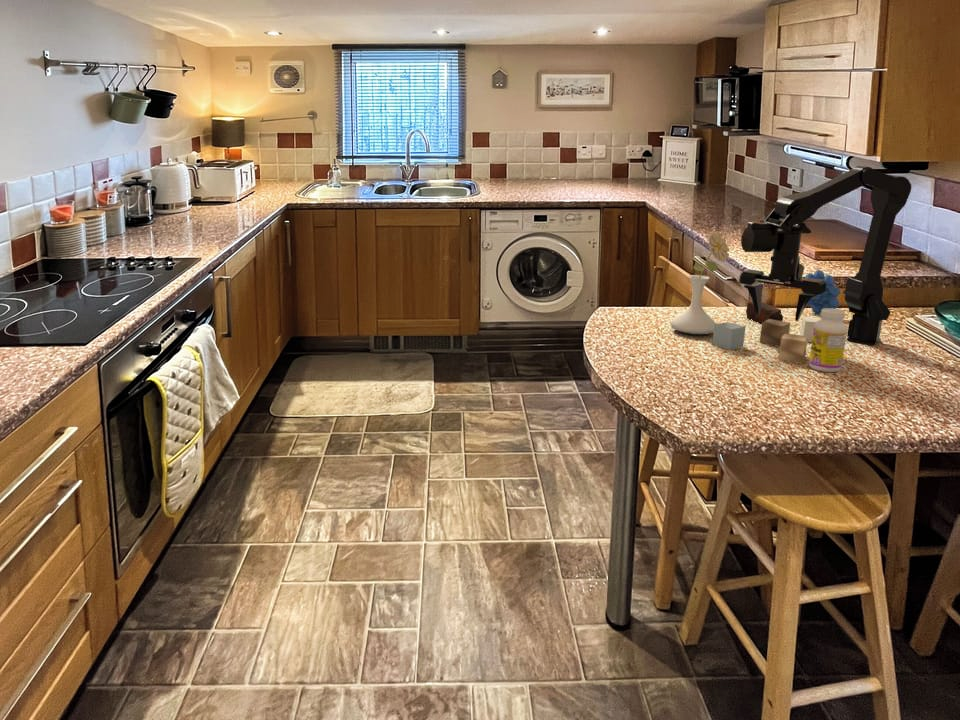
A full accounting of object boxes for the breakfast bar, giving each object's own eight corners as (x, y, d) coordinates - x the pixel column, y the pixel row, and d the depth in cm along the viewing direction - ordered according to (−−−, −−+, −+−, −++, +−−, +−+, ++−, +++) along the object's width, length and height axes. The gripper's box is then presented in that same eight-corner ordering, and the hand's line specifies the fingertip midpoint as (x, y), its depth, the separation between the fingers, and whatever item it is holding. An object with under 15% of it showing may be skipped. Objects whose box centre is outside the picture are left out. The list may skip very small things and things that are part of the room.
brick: (744, 318, 234) (746, 301, 233) (757, 317, 235) (759, 300, 234) (769, 328, 224) (771, 310, 223) (782, 327, 225) (784, 309, 224)
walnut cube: (787, 342, 210) (790, 322, 209) (780, 346, 206) (783, 326, 205) (766, 339, 213) (769, 319, 212) (759, 343, 209) (762, 322, 208)
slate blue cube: (743, 347, 205) (745, 326, 204) (729, 350, 202) (732, 329, 201) (725, 342, 209) (727, 321, 207) (712, 345, 206) (714, 324, 204)
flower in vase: (688, 339, 209) (699, 234, 202) (660, 328, 219) (670, 227, 212) (732, 335, 215) (744, 233, 208) (702, 324, 225) (713, 226, 217)
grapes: (789, 311, 243) (795, 268, 240) (803, 308, 247) (809, 266, 244) (827, 320, 235) (834, 276, 231) (841, 317, 239) (848, 273, 235)
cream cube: (821, 338, 216) (824, 318, 215) (824, 343, 211) (827, 323, 210) (799, 336, 217) (802, 316, 216) (802, 341, 212) (805, 321, 211)
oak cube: (805, 358, 198) (808, 336, 196) (801, 363, 194) (805, 341, 192) (782, 354, 200) (784, 333, 199) (778, 359, 196) (781, 337, 194)
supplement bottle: (803, 363, 193) (812, 306, 190) (834, 364, 193) (843, 307, 189) (814, 372, 187) (822, 313, 183) (845, 373, 187) (855, 314, 183)
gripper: (837, 253, 205) (827, 318, 209) (759, 243, 215) (751, 306, 220) (823, 259, 196) (813, 326, 200) (742, 248, 207) (734, 313, 211)
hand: (777, 317), depth 208 cm, fingers open, 9 cm apart
